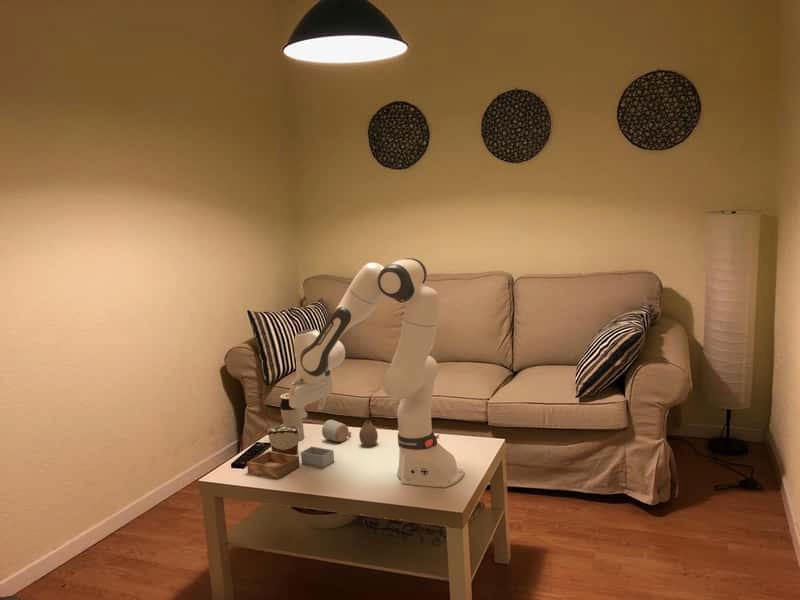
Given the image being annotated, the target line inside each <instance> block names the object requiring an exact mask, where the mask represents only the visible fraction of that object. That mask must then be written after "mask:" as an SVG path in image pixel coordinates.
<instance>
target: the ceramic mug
mask: <svg viewBox="0 0 800 600" xmlns="http://www.w3.org/2000/svg"><path fill="white" fill-rule="evenodd" d="M321 431H322V432H321V434H322V437H323V438H324V439H326V440H329V441H333V442H336V443H342V442H344V441H345V440H347V438H348V437H351V436H352V432H351V431H349V428H348V426H347V425H346V424H344V423H342V422H339V421H338V420H337V421H336V420H334V419H328V420H326V421H325V422H324V423H323V426H322V429H321Z"/></svg>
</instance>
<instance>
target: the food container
mask: <svg viewBox="0 0 800 600" xmlns="http://www.w3.org/2000/svg"><path fill="white" fill-rule="evenodd" d="M298 433H299V434H300V432H299V429H298V427H297V426H295V425H282V424H280V425H276V426H273V427H272V426H271V427H270V428H268V429H267V432H266V436H268V440H269V443H270V448H271V451H273V452H279V453H284V454H289V455H295V456H299V441H298Z"/></svg>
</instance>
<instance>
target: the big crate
mask: <svg viewBox="0 0 800 600" xmlns="http://www.w3.org/2000/svg"><path fill="white" fill-rule="evenodd" d="M246 467H247V474H251V475H256V476H261V477H265V478H270V479H274V480H280V479H283V478H284V477H285V476H287V475H289V474H292V472H294V471H296V470H297V469H299V468H301V465H300V455H289V454H284V453H279V452H273V451H272V450H268V451H266V452H264V453H262V454H260V455H258V456H256V457H254V458H253V459H250V460H248V461H246Z"/></svg>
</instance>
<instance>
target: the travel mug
mask: <svg viewBox="0 0 800 600" xmlns="http://www.w3.org/2000/svg"><path fill="white" fill-rule="evenodd" d="M279 397H280V400H281V402H280V413H281V422H282V423H281V425H295V426H297V427H298V429H299V432H300V434H299V433H298V442H300V441H302V440H304V439H305V431H304V430H305V429H304V422H303V418H302V417H301V413H300V411H299V410H298V409H294V408H291V407H290V405H289V392H287V393H283V394H281V395H280V396H279Z"/></svg>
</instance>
